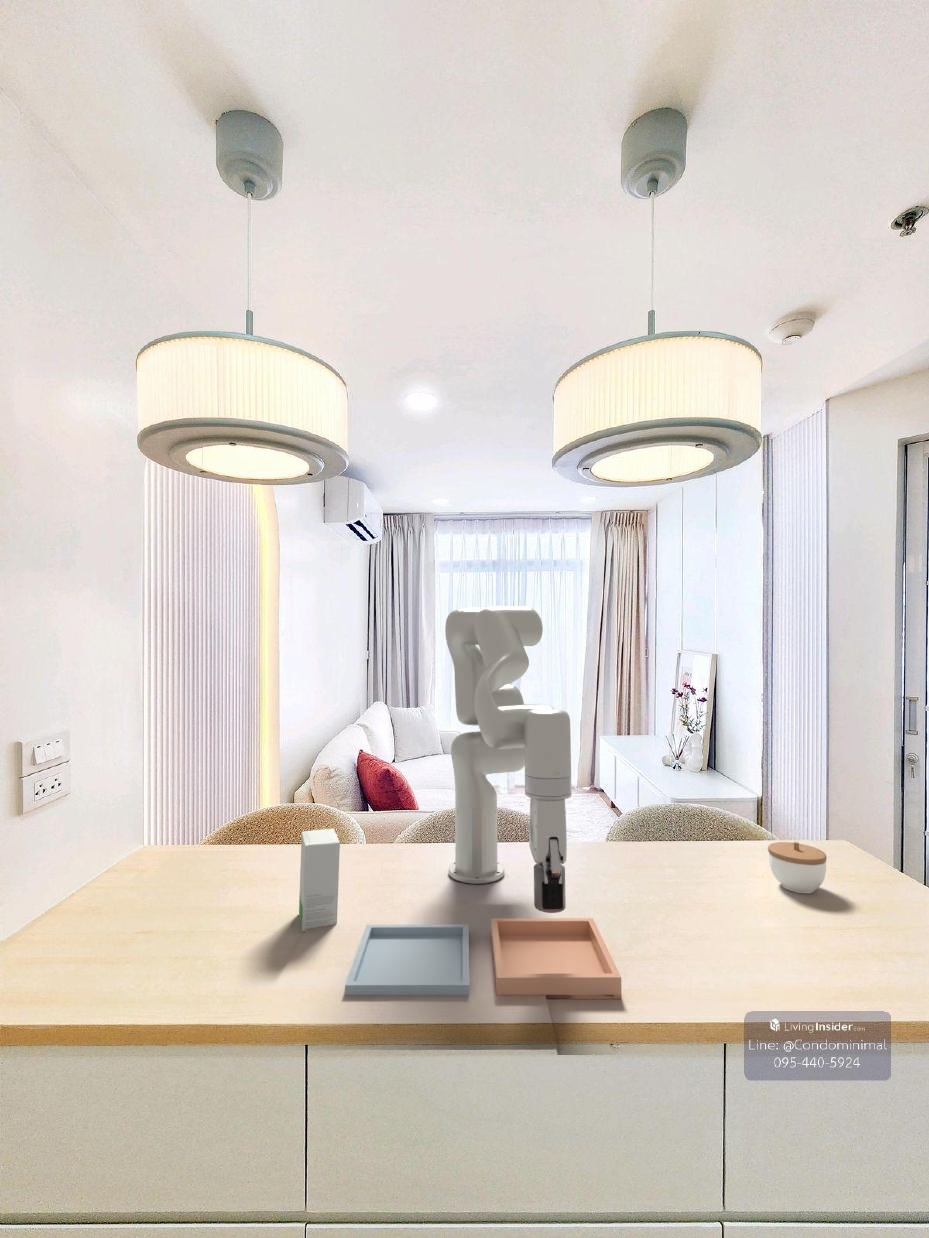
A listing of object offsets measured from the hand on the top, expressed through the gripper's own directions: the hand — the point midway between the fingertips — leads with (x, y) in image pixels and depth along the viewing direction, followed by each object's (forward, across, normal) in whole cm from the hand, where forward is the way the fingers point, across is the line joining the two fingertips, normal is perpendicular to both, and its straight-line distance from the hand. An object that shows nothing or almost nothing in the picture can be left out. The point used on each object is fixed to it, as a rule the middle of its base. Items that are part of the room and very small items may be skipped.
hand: (549, 899), depth 91 cm
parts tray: (+10, 0, -22) cm, 24 cm away
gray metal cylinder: (+1, 0, 0) cm, 1 cm away
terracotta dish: (+10, 0, 0) cm, 10 cm away
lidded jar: (+10, -29, +57) cm, 65 cm away
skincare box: (+10, -15, -41) cm, 45 cm away
